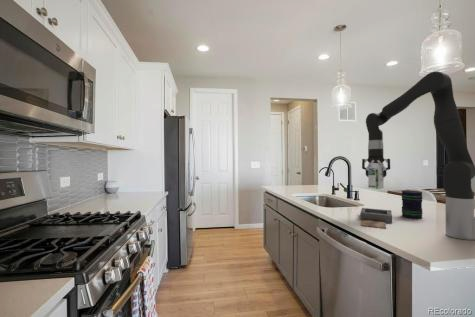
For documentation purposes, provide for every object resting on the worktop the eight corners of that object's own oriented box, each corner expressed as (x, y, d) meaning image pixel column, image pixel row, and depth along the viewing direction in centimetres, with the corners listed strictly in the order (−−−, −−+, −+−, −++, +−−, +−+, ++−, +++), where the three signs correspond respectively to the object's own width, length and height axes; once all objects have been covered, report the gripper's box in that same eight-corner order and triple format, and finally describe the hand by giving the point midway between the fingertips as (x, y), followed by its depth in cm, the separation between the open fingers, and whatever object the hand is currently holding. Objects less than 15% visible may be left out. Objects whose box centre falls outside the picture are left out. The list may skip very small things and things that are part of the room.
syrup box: (367, 188, 138) (367, 162, 138) (374, 187, 141) (374, 162, 141) (377, 189, 133) (377, 163, 133) (384, 188, 136) (383, 162, 136)
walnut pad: (385, 223, 127) (385, 222, 127) (386, 228, 117) (386, 227, 117) (362, 220, 132) (362, 219, 132) (360, 225, 123) (360, 224, 123)
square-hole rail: (391, 217, 140) (390, 210, 140) (392, 223, 127) (392, 215, 127) (362, 214, 147) (362, 207, 147) (360, 219, 135) (360, 212, 135)
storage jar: (415, 215, 144) (415, 190, 144) (426, 219, 135) (426, 192, 135) (398, 214, 145) (397, 190, 145) (407, 219, 136) (407, 192, 136)
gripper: (361, 148, 138) (361, 177, 138) (390, 147, 130) (391, 177, 130) (362, 148, 144) (362, 176, 144) (390, 148, 137) (390, 176, 137)
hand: (375, 176), depth 137 cm, fingers closed on syrup box, 7 cm apart
